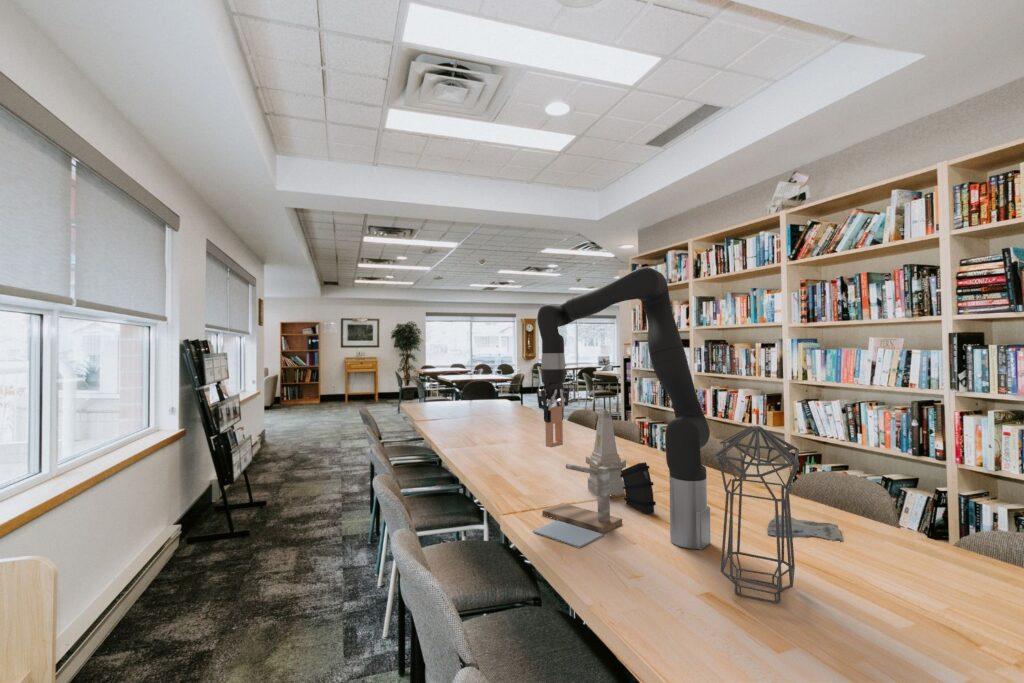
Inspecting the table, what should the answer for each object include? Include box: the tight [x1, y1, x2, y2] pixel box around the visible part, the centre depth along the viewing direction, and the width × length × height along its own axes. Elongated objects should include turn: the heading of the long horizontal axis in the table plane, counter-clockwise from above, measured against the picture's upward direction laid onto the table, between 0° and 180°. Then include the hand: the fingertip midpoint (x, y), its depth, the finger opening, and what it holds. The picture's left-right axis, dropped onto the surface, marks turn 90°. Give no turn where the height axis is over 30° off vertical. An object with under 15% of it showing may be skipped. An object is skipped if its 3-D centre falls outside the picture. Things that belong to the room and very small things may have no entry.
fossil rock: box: [766, 514, 844, 543], centre depth 135 cm, size 18×15×2 cm
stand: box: [541, 463, 623, 534], centre depth 146 cm, size 22×10×17 cm, turn 46°
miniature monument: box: [585, 407, 627, 496], centre depth 174 cm, size 10×10×30 cm
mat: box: [532, 520, 604, 549], centre depth 135 cm, size 16×11×1 cm
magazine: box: [620, 461, 657, 515], centre depth 156 cm, size 4×13×15 cm, turn 23°
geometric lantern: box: [712, 425, 801, 604], centre depth 102 cm, size 16×16×35 cm
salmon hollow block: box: [544, 405, 564, 448], centre depth 154 cm, size 2×6×12 cm, turn 136°
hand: (554, 420), depth 154 cm, fingers closed on salmon hollow block, 5 cm apart
